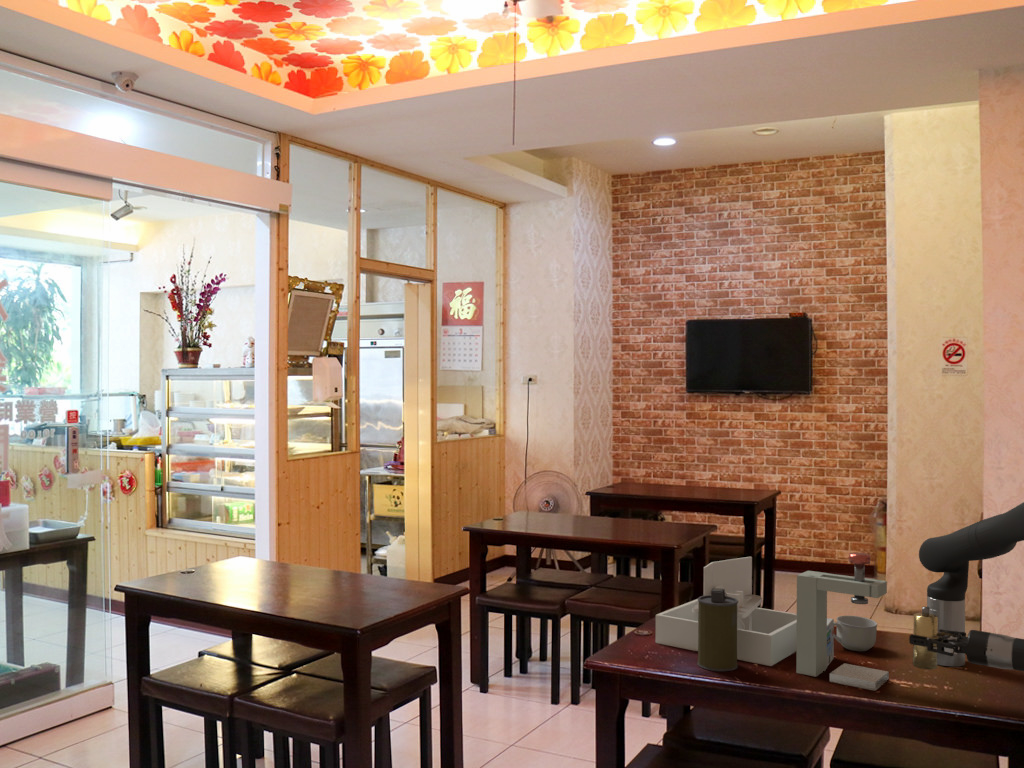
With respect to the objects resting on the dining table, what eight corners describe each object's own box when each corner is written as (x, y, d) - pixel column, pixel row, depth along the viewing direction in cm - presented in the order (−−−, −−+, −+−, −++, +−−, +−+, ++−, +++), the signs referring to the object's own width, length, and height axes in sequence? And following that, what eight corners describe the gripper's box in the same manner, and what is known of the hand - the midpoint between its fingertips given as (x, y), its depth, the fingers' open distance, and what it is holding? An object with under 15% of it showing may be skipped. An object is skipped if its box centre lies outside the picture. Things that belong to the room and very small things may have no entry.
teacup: (868, 643, 259) (868, 615, 260) (883, 654, 249) (883, 625, 249) (819, 642, 260) (820, 614, 260) (832, 653, 249) (832, 624, 249)
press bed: (844, 671, 233) (844, 663, 233) (888, 679, 226) (888, 671, 226) (829, 681, 224) (829, 673, 225) (875, 690, 218) (875, 682, 218)
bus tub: (699, 624, 280) (699, 598, 280) (808, 643, 258) (809, 615, 258) (655, 642, 258) (655, 614, 258) (771, 666, 237) (771, 635, 237)
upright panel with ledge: (758, 663, 241) (759, 575, 241) (681, 652, 251) (682, 567, 251) (779, 638, 266) (779, 558, 266) (708, 629, 276) (708, 552, 276)
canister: (734, 673, 230) (735, 595, 230) (694, 668, 234) (694, 591, 234) (740, 662, 240) (740, 586, 241) (701, 657, 244) (701, 583, 244)
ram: (852, 599, 229) (852, 551, 229) (872, 602, 226) (873, 554, 226) (846, 602, 225) (846, 554, 225) (866, 605, 222) (866, 556, 222)
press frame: (807, 665, 238) (808, 570, 238) (886, 681, 225) (887, 580, 225) (796, 672, 231) (796, 575, 231) (877, 689, 219) (877, 586, 219)
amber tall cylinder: (915, 660, 218) (917, 603, 218) (939, 665, 215) (940, 607, 215) (910, 666, 214) (911, 607, 214) (933, 671, 211) (935, 611, 211)
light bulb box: (827, 668, 236) (827, 626, 236) (800, 664, 239) (800, 623, 239) (834, 657, 245) (834, 618, 245) (808, 654, 248) (808, 614, 248)
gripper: (998, 626, 211) (921, 614, 222) (985, 640, 200) (904, 627, 210) (998, 658, 211) (920, 644, 222) (985, 674, 200) (904, 659, 210)
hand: (913, 636), depth 216 cm, fingers closed on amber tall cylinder, 5 cm apart
